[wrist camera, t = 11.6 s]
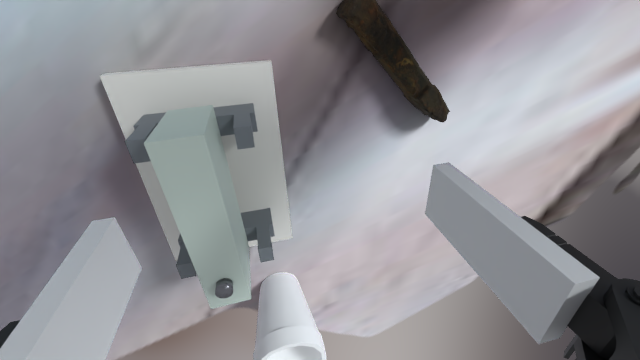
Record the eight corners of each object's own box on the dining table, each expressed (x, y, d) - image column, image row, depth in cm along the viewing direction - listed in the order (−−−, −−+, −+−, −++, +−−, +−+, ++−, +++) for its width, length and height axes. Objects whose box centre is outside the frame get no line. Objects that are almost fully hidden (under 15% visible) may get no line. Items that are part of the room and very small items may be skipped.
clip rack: (270, 59, 31) (280, 74, 24) (291, 231, 43) (302, 278, 36) (105, 73, 28) (57, 94, 21) (177, 253, 40) (163, 309, 33)
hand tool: (329, 10, 31) (342, 10, 27) (357, -20, 30) (375, -24, 26) (414, 129, 40) (433, 142, 36) (437, 109, 39) (459, 119, 36)
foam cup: (296, 306, 52) (312, 384, 41) (244, 304, 49) (246, 389, 38) (314, 267, 48) (336, 341, 37) (259, 262, 45) (266, 342, 34)
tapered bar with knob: (212, 104, 27) (202, 139, 20) (249, 246, 36) (251, 307, 29) (167, 110, 27) (139, 148, 19) (216, 253, 36) (210, 317, 28)
